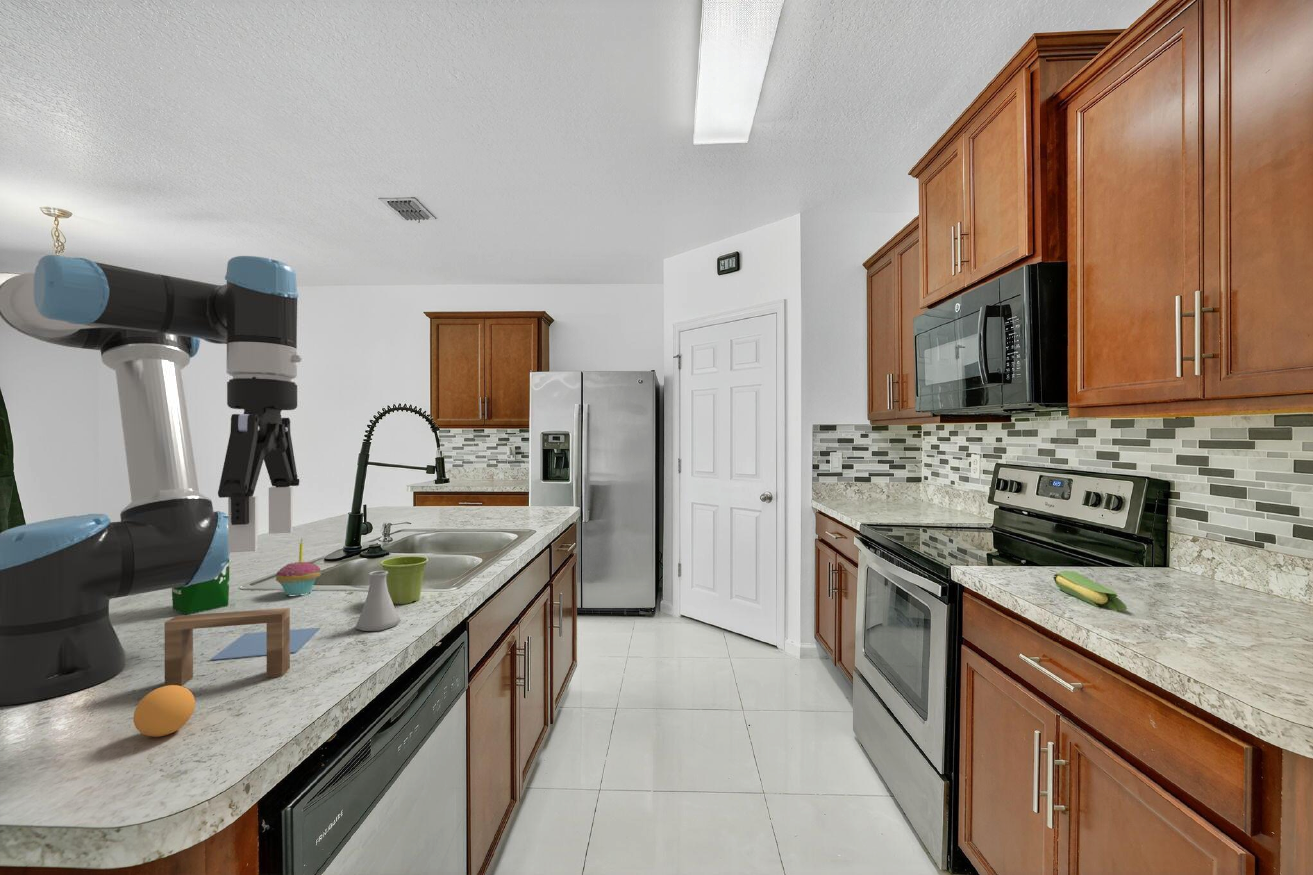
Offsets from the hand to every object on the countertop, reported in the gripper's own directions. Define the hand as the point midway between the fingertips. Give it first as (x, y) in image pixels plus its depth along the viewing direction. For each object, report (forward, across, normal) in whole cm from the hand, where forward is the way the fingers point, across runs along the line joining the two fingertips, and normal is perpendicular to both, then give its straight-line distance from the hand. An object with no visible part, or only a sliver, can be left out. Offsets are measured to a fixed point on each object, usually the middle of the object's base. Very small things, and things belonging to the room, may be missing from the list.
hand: (263, 541), depth 73 cm
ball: (+19, -4, +9) cm, 21 cm away
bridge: (+22, +12, +8) cm, 26 cm away
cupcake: (+22, +59, +11) cm, 64 cm away
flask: (+22, +30, -9) cm, 38 cm away
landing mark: (+22, +26, +7) cm, 34 cm away
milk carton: (+22, +54, +28) cm, 64 cm away
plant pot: (+22, +46, -12) cm, 52 cm away
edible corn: (+22, 0, -151) cm, 153 cm away
